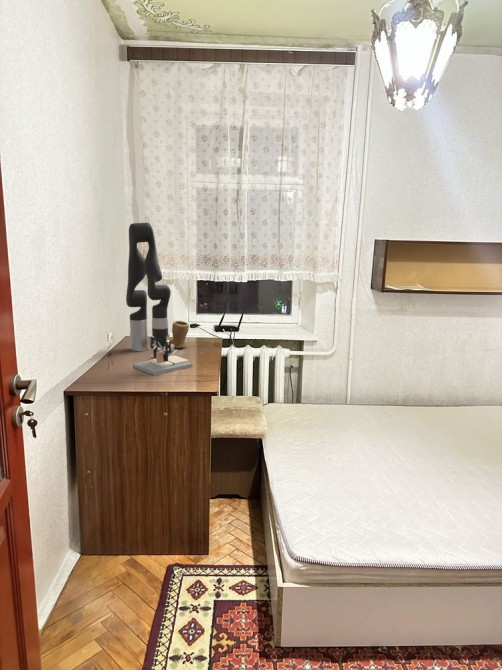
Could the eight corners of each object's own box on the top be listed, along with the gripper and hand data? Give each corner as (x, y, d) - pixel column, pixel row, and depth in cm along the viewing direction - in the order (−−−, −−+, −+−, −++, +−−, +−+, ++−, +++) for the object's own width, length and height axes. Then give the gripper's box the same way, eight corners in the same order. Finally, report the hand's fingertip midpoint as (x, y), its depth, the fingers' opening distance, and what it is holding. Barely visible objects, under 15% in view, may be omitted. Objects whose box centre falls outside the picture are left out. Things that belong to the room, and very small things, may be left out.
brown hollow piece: (189, 349, 250) (189, 323, 247) (168, 349, 248) (167, 323, 245) (188, 343, 264) (188, 318, 261) (168, 343, 263) (168, 318, 259)
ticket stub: (149, 362, 217) (148, 350, 215) (159, 360, 220) (158, 348, 219) (162, 367, 208) (162, 355, 207) (173, 365, 212) (172, 353, 211)
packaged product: (160, 342, 246) (178, 343, 245) (160, 350, 247) (178, 351, 246) (150, 350, 229) (169, 351, 228) (150, 359, 230) (169, 360, 229)
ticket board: (133, 366, 214) (133, 361, 214) (171, 358, 229) (171, 354, 229) (153, 375, 202) (153, 369, 201) (192, 366, 217) (192, 361, 216)
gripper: (145, 325, 213) (146, 358, 216) (161, 330, 203) (162, 364, 206) (158, 323, 218) (159, 355, 221) (175, 328, 208) (175, 361, 212)
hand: (160, 359), depth 214 cm, fingers open, 8 cm apart
